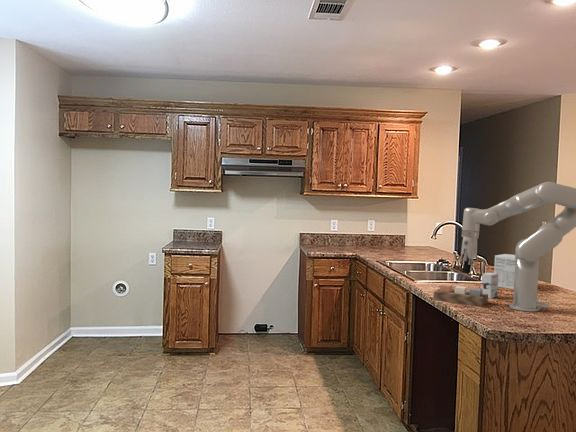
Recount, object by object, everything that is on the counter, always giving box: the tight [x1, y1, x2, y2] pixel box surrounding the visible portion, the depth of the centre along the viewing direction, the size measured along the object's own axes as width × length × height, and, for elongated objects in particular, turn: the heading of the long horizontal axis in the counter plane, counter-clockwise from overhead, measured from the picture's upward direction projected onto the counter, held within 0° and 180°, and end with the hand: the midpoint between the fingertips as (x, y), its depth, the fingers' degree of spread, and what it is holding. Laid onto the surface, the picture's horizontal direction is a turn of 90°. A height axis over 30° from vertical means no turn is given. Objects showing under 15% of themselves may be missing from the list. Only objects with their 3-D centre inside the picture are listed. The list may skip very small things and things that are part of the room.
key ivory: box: [454, 285, 468, 295], centre depth 231 cm, size 5×5×4 cm
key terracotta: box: [439, 283, 454, 292], centre depth 235 cm, size 5×5×4 cm
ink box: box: [481, 272, 499, 299], centre depth 243 cm, size 8×5×12 cm, turn 134°
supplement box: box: [493, 253, 515, 290], centre depth 271 cm, size 13×13×18 cm
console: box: [432, 288, 489, 308], centre depth 231 cm, size 22×12×4 cm, turn 54°
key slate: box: [469, 287, 483, 297], centre depth 226 cm, size 5×5×4 cm
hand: (466, 272), depth 229 cm, fingers closed
